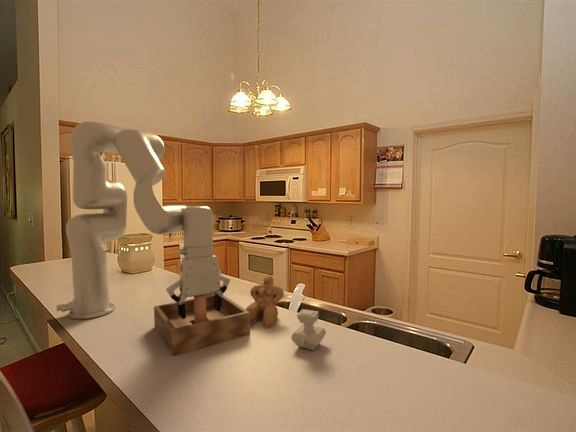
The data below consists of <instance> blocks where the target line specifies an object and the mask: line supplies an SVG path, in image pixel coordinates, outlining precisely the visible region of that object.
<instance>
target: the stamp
mask: <svg viewBox="0 0 576 432" xmlns="http://www.w3.org/2000/svg"><path fill="white" fill-rule="evenodd" d="M296 316H297V320H298V321H299V323H300V324H302V325H301V326H299V327H298V329H296V330H295V331H294V332H293V333H292V335H291V338H290V339H291V341H292V342H293V343H294V344H295V345H296V347H299V348H304V349H308V350H312V351H315V349H316V348H317V347H318V346H319V345H320V343H321V342H322V341H323V339H324V337H325V335H326V334H327V331H326V329H325V328H323V327H320V326H319V327H318V326H315V325H314V324H315V323H316V322H317V321H318V320H319V310H312V309H306V308H304V309H303V308H302V309H301V310H300V311H299V312H298V313H297V314H296Z"/></svg>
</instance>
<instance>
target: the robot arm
mask: <svg viewBox="0 0 576 432" xmlns="http://www.w3.org/2000/svg"><path fill="white" fill-rule="evenodd" d="M69 141H70V143H69V145H70V152H71V157H72V161H73V171H72V172H73V173H72V174H73V175H72V199H73V203H74V205H75V206H76V208H78V209H81V210H90V211H91V210H103V212H100V213H99V212H95V213H93V212H92V213H83V214H82V213H81V214H77V215H74V216H73V217H71V218H70V219H68V221H67V222H66V225H65V233H66V237H67V240H68V244H69V248H70V254H71V255H70V257H71V271H72V287H73V291H72V292H73V298H72V301H68V303H59V304H57V305H56V311H57V312H60V311H61V313H63V312H67V311H69V312H68V317H69V318H71V319H73V320H74V319H75V320H85V319H92V318H97V317H98V318H99V317H102V316H105V315H107V314H109V313H110V314H111V312H113V311H114V310H115V308H116V307H115V304H114V303H113V302H110V299H109V298H110V296H109V294H110V293H109V272H108V270H109V269H108V258H107V257H108V256H107V253H106V251H105V250H104V248H103V247H102V245H101V244H100V243H104V242H110V241H116V240H119V239H121V238H122V237H123V236H124V235H125V232H126V230H127V217H128V216H127V214H128V194H127V190H126V188H125V186H124V185H123V184H122V183H121V182H120V181H116V180H111V179H106V173H107V172H106V171H107V170H106V168H107V167H106V164H105V162H104V160H103V157H102V155H100V153H107V154H113V155H120V158H121V159H122V161H123V163H124V164H125V166H126V168H127V169H128V172H129V173H130V175H131V176H132V179H133V180H134V182H135V186H134V189H133V206H134V208H135V211H136V213H137V215H138V216H139V219H140V221H141V222H142V223H143V225H144V227H145V228H146V229H147V230H148V231H149V232H150V233H152V234H155V235H161V236H162V235H167V234H174V233H180V232H183V246H182V248H181V249H180V248H179V249H178V255H182V256H183V257H181V262H180V268H179V270H180V271H179V279H178V280H177V281H175V282H174V283H173V284H171V285H169V287H166V292H167V294H168V295H169V297H170V298H171V299H172V300H173V302H177V303H178V315H179V316H180V317H181V318H182V319H185V318H186V310H185V304H184V301H185V300H187V298H191V297H193V298H194V296H199V295H204V294H209V293H214V292H215V295H214V309H216V310H217V311H220V307H221V306H222V301H221V297H222V296H223V295H224V293H225V292H226V291H227V289H228V286H229V284H230V282H231V279H230V278H229V277H227V276H226V277H225V276H224V275H222V274H221V275H222V276H221V275H219V270H220V267H219V263H218V257H217V255H215V254H214V245H213V244H214V241H213V239H214V238H213V237H214V236H213V232H214V231H213V211H212V208H211V207H209V206H205V205H202V206H201V205H194V206H189V205H183V204H180V205H178V204H177V205H173V204H172V205H171V204H170V205H162V204H161V203H160V200H159V199H158V197H157V195H156V194H155V190H154V186H155V185H157V184H158V183H160V182H161V181H162V180H163V178H164V177H165V176H166V170H165V168H164V167H163V165H162V164H161V163H162V162H160V160H162V158H163V157H164V154H165V149H166V148H165V144H164V142H163V140H162V139H161V138H160V136H158V135H157V134H154V133H151V132H146V131H142V130H140V129H139V130H138V129H133V128H132V129H131V128H124V127H120V126H115V125H111V124H108V123H103V122H97V121H84V122H83V121H82V122H80V123H78V124H77V125H76V126H75V127H74V128H73V130H72V132H71V134H70V139H69ZM221 281H222V285H221ZM178 288H179V291H180V293H179V294H178V295H176V293H175V291H176V290H177V289H178Z"/></svg>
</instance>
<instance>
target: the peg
mask: <svg viewBox="0 0 576 432" xmlns="http://www.w3.org/2000/svg"><path fill="white" fill-rule="evenodd" d="M193 299H194V321H195V324H196V323H200V322H205V321H207V317H206V294H204V295H199V296H193Z"/></svg>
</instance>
